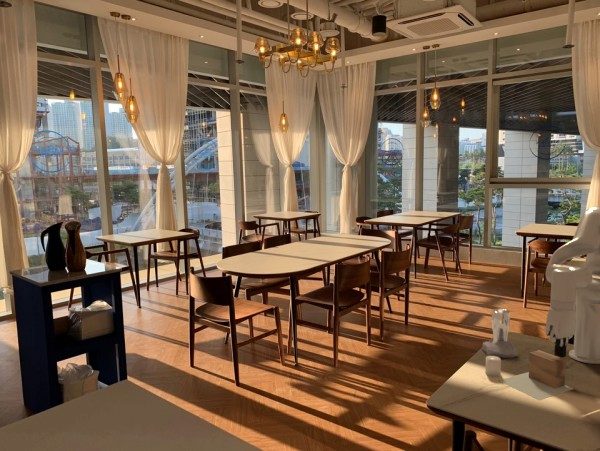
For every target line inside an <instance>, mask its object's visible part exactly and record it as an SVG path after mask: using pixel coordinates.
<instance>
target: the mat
mask: <svg viewBox="0 0 600 451" xmlns="http://www.w3.org/2000/svg"><path fill="white" fill-rule="evenodd" d="M497 381H498V382H501V383H502V384H504V385H507V386H508V387H510V388H512V389H515V390H517V391H519V392H521V393H523V394H525V395H527V396H530V397H531V398H534V399H535V400H538V401H542V400H544V399H547V398H551V397H554V396H557V395H560V394H562V393H566V392H569V391H573V390H574V388H573V387H572V386H569V385H567V384H566V385H565V386H562V387H558V388H555V389H554V388H552V387H550V386H548V385H545V384H543V383H541V382H538V381H536V380H534V379H532V378H529V371H527V372H523V373H520V374H516V375H512V376H509V377H505V378H503V379H499V380H497Z"/></svg>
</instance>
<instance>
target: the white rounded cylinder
mask: <svg viewBox="0 0 600 451" xmlns="http://www.w3.org/2000/svg"><path fill="white" fill-rule="evenodd" d="M501 366H502V359H501V357H496V356H488V355H486V356H485V372H484V373H485V374H486V375H487V376H490V377H500V376H501V371H502V370H501V369H502V368H501Z"/></svg>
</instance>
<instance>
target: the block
mask: <svg viewBox="0 0 600 451" xmlns="http://www.w3.org/2000/svg"><path fill="white" fill-rule="evenodd" d="M528 358H529V359H528V360H529V362H528V372H529V378H532V379H534V380H536V381H538V382H541V383H543V384H545V385H548V386H550V387H552V388H554V389H555V388H558V387H562V386H565V384H566V383H565V382H566V366H567V364H566V363H567V359H564V358H561V357H559V356H556V355H555V354H551V353H549V352H546V351H543V350H540V349H538V350H533V351H530V352H529V357H528Z"/></svg>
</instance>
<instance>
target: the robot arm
mask: <svg viewBox="0 0 600 451" xmlns="http://www.w3.org/2000/svg"><path fill="white" fill-rule="evenodd" d="M572 237H573V238H572V240H570V241H568V242H566V243H565V244H563V245H562V246H560V247H558V248H557V249H556V250H555V251H554V252H553V254H552V255H551V257H550V259H549V261H548V264H547V266H546V269H545V278H546V280H547V282H549V284H550V286H551V287H550V304H549V306H550V308H548V312H547V316H546V323H545V332H544V333H545V335H546V337H547V336H549V339H548V341H549V342H551V343H553V345H554V352H553V353H554V354H553V355H554V356H557V357H559V358H562V359H564V358H566V357H567V346H568V344H569V340H570V339H571V338H573V349H570V351H568V356H569V357H570V358H571V359H573V360H575V361H577V362H582V363H586V364H592V365H593V364H594V365H600V278H599V277H600V206H593V207H590V208H587V209H586V211H585V212H583V213H582V215H581V217H580V220H579V222H578V224H577V227H576V230H575V232H574V235H573V236H572ZM585 255H586V257H585V262H584V266H578V265H577V266H576V265H573V264H572V265H571V264H564V263H565V262H566V261H568V260H570V259H572V258H576V257H580V256H585ZM573 336H574V337H573Z"/></svg>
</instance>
